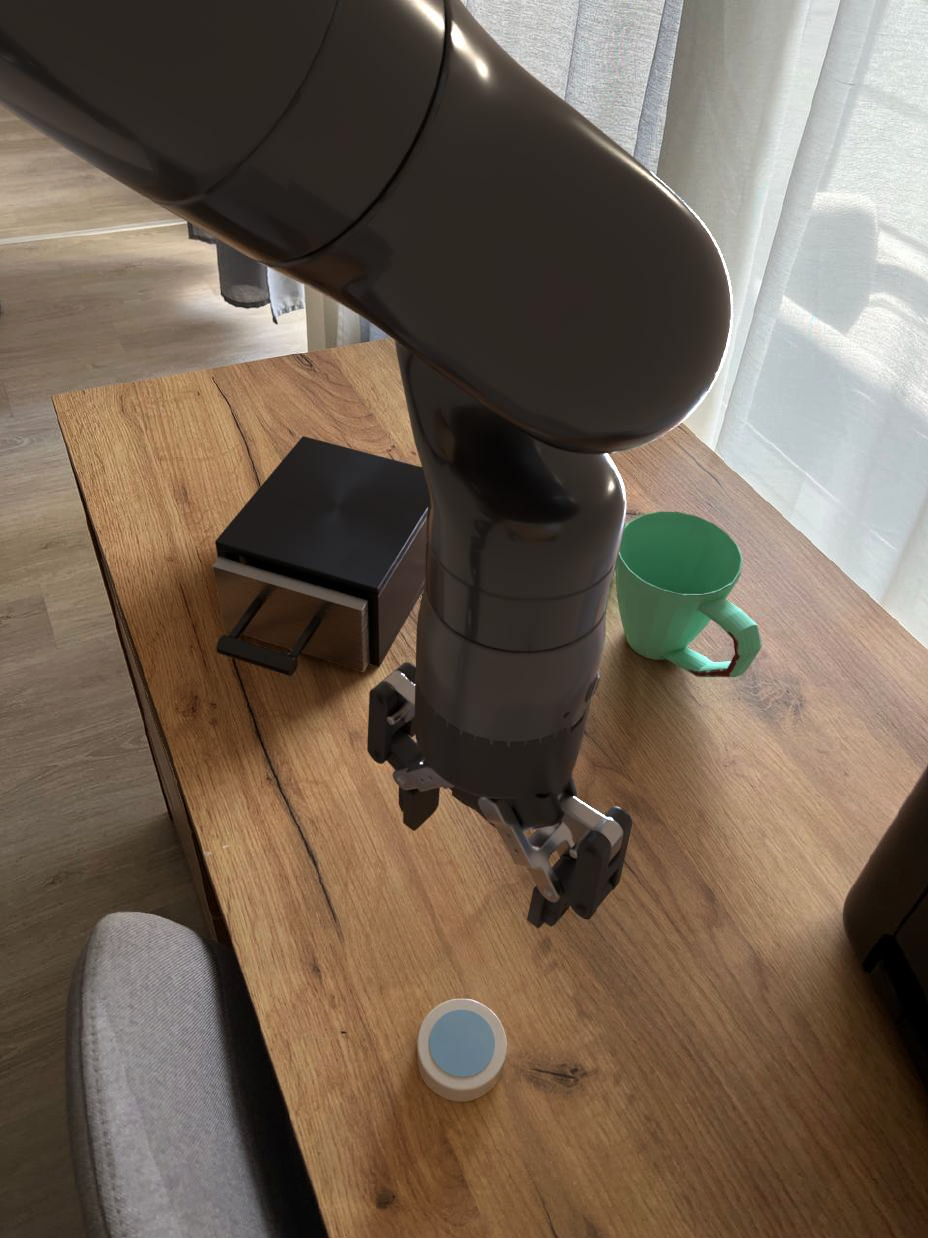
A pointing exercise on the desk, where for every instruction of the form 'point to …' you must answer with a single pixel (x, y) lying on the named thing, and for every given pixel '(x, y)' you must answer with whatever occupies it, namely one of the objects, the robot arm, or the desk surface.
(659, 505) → the desk surface
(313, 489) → the black box
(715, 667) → the mug
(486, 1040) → the button
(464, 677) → the robot arm
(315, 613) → the drawer
